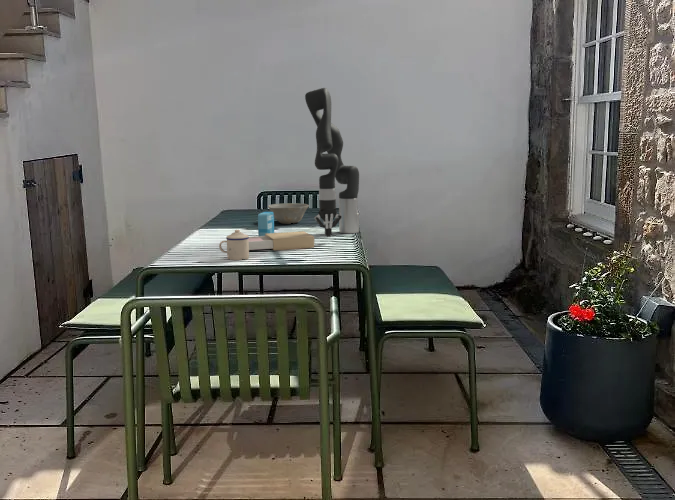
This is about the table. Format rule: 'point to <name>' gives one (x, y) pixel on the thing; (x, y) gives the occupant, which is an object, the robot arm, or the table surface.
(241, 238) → the teacup with lid
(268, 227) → the data package
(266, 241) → the tray
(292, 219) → the ceramic bowl
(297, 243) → the mailer sleeve
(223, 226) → the table surface
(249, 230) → the table surface
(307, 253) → the table surface
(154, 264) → the table surface
